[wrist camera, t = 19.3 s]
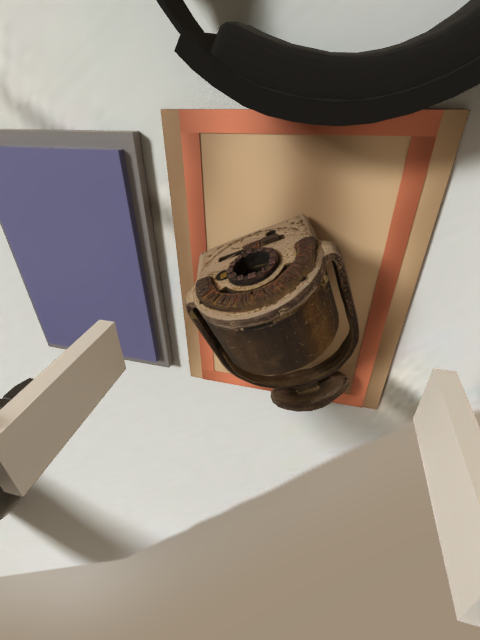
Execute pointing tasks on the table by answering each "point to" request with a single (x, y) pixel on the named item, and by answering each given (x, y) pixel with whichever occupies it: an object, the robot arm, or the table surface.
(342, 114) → the headphones
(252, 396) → the table surface
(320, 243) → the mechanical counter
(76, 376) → the robot arm
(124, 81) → the table surface
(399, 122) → the print sheet
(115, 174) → the ink pad
